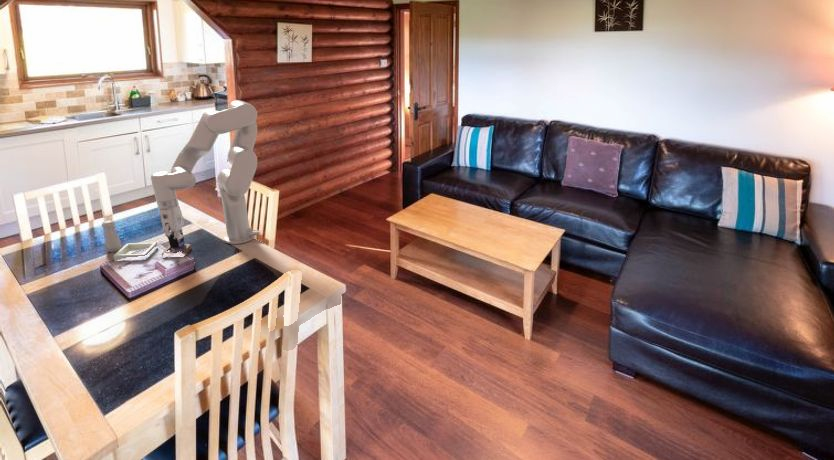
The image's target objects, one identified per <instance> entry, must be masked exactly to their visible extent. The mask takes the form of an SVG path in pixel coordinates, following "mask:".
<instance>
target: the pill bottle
mask: <svg viewBox="0 0 834 460" xmlns="http://www.w3.org/2000/svg"><path fill="white" fill-rule="evenodd" d="M170 231H172V230H170ZM175 233H176V238H177V240H178V244H179V247H178V248H171V250H172V251H171V252H179V251H180V252H181V251H183V250H184V249H185V244H186V243H185V238H183V237H184V234H183V235H182V234H180V233H181V232H180V229H179V230H178V231H177V232H175ZM170 234H172V235H173V233H170Z"/></svg>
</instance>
